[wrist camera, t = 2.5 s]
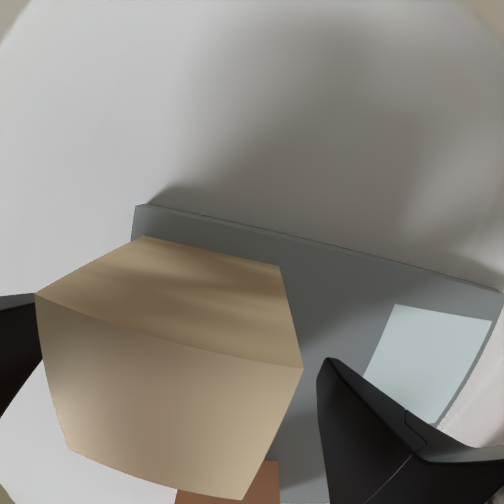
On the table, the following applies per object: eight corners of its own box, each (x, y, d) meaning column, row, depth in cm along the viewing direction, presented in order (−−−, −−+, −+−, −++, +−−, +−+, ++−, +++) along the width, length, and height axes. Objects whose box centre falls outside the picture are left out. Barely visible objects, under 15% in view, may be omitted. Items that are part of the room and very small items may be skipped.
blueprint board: (496, 289, 11) (507, 295, 10) (369, 490, 15) (371, 499, 14) (145, 203, 11) (135, 205, 10) (136, 466, 15) (133, 476, 14)
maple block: (279, 266, 10) (304, 368, 4) (248, 377, 11) (241, 500, 5) (143, 235, 10) (34, 294, 4) (133, 348, 11) (68, 448, 5)
